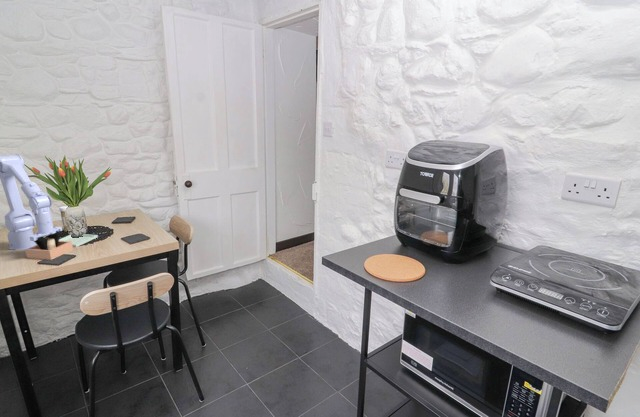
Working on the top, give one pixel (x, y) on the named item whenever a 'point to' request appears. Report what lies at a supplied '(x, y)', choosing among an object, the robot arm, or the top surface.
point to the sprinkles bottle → (63, 217)
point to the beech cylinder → (51, 244)
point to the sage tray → (79, 239)
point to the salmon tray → (49, 251)
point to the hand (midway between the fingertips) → (50, 250)
